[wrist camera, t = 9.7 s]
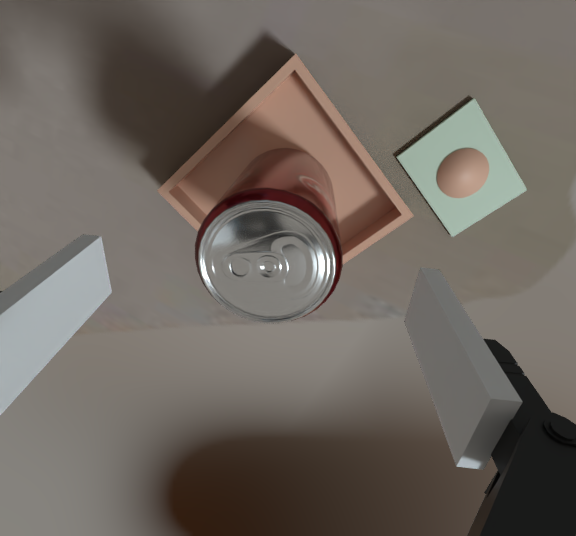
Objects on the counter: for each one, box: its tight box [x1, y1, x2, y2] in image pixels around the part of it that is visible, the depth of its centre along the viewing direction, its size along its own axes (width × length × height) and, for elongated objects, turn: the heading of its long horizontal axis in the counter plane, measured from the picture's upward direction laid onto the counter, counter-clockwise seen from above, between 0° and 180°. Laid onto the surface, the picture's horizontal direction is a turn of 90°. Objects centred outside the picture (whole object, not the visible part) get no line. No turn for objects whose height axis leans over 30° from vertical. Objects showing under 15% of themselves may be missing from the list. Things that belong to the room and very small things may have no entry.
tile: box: [396, 98, 527, 237], centre depth 26 cm, size 8×6×1 cm
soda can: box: [195, 148, 343, 323], centre depth 22 cm, size 7×7×12 cm
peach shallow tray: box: [157, 54, 413, 264], centre depth 27 cm, size 13×13×2 cm
